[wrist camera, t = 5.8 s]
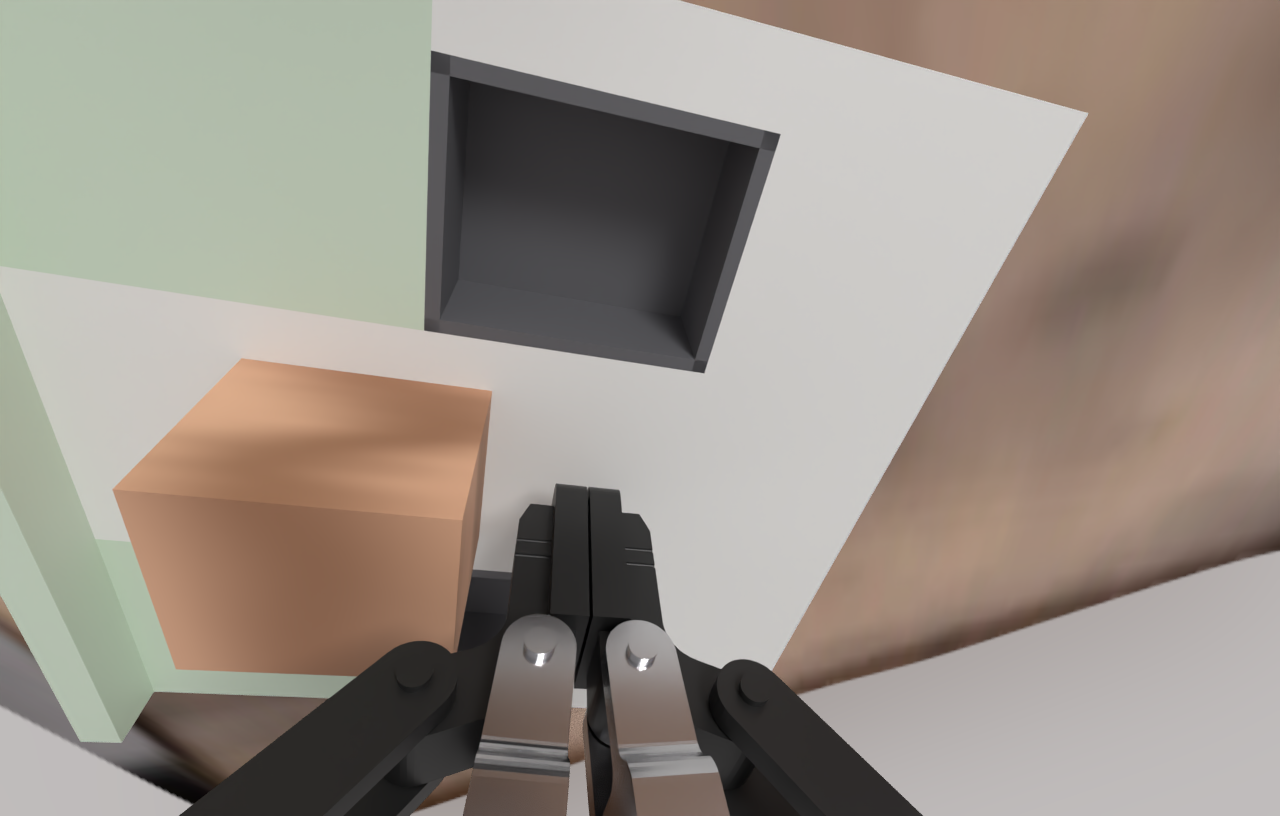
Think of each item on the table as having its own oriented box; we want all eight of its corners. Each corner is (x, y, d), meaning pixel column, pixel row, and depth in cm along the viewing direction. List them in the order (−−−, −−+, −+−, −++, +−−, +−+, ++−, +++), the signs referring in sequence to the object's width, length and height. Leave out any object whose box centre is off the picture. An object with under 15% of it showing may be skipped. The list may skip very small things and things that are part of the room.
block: (492, 391, 13) (462, 520, 10) (479, 536, 15) (451, 680, 12) (241, 358, 12) (112, 489, 9) (268, 518, 14) (176, 669, 11)
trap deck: (1006, 97, 13) (1154, 126, 9) (732, 652, 23) (757, 757, 20) (-108, -207, 9) (-508, -336, 6) (165, 618, 20) (80, 741, 16)
